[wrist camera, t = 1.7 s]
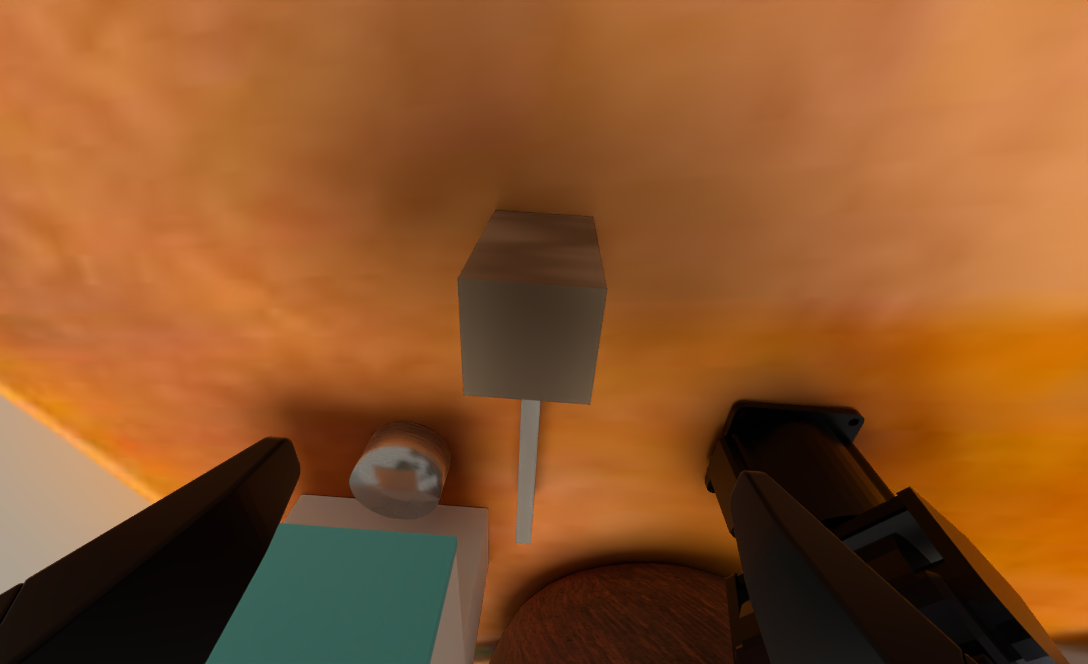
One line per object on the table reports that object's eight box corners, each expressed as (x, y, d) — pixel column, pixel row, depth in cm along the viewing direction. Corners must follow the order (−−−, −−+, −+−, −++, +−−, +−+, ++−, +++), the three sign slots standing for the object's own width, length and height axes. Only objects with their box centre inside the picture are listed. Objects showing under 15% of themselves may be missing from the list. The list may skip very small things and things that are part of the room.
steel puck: (449, 423, 24) (436, 462, 21) (453, 481, 26) (442, 522, 24) (364, 417, 24) (341, 455, 21) (376, 475, 26) (357, 515, 24)
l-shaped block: (488, 405, 23) (418, 697, 12) (490, 562, 30) (448, 830, 19) (261, 388, 23) (-12, 664, 12) (319, 549, 30) (183, 809, 19)
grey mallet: (592, 216, 17) (607, 289, 11) (560, 492, 26) (558, 616, 20) (495, 209, 17) (457, 278, 11) (495, 487, 26) (474, 610, 20)
